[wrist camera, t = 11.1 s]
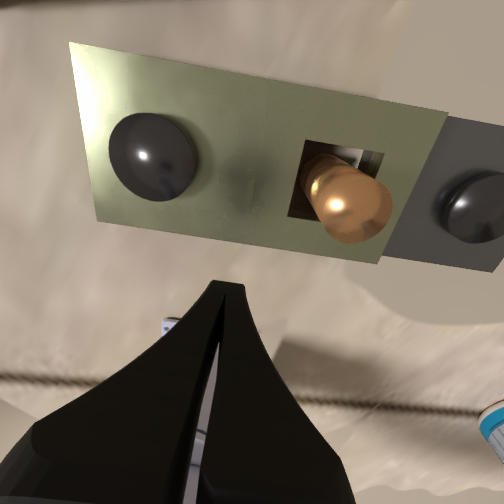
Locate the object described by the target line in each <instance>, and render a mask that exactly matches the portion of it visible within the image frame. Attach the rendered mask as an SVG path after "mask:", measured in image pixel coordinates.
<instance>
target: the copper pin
mask: <svg viewBox="0 0 504 504" xmlns="http://www.w3.org/2000/svg"><path fill="white" fill-rule="evenodd" d="M300 184H301V187H302V189H303V191H304V193H305V194H306V196H307V198H308V200H309V202H310V203H311V205H312V207H313V209H314V210H315V212H316V214H317V216H318V218H319V219H320V221H321V223H322V225H323V227H324V228H325V230H326V232H327V233H328V234H329V235H330V236H331V237H332V238H333V239H335V240H337V241H339V242H343V243H359V242H363V241H366V240H368V239H370V238H372V237H374V236H375V235H377V234H378V233H379V232H380V231H381V230H382V229H383V228H384V227H385V225H386V224H387V223H388V221H389V219H390V217H391V214H392V209H393V201H392V196H391V194H390V192H389V190H388V189H387V187H385V186H384V185H383V184H382V183H380V182H379V181H377V180H375V179H374V178H372V177H370V176H368V175H367V174H365V173H363V172H362V171H360V170H358V169H356V168H355V167H353V166H351V165H350V164H348V163H346V162H344V161H343V160H341V159H339V158H337V157H336V156H334V155H331V154H318V155H316V156H314V157H312V158H310V159H309V160H308V161H307V162H306V163H305V165H304V166H303V168H302V170H301V173H300Z"/></svg>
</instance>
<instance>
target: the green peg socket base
mask: <svg viewBox="0 0 504 504" xmlns="http://www.w3.org/2000/svg"><path fill="white" fill-rule="evenodd" d="M69 46H70V52H71V58H72V65H73V71H74V77H75V84H76V90H77V96H78V103H79V109H80V116H81V122H82V128H83V135H84V141H85V147H86V154H87V160H88V166H89V173H90V179H91V185H92V192H93V198H94V204H95V211H96V217H97V221H99V222H106V223H112V224H119V225H125V226H132V227H138V228H145V229H151V230H158V231H164V232H171V233H177V234H184V235H190V236H197V237H203V238H210V239H216V240H223V241H229V242H236V243H242V244H249V245H255V246H262V247H268V248H275V249H281V250H288V251H294V252H301V253H307V254H314V255H320V256H327V257H333V258H340V259H346V260H353V261H359V262H366V263H372V264H377V263H378V261H379V259H380V257H381V255H383V256H389V257H395V258H402V259H408V260H414V261H421V262H427V263H434V264H440V265H447V266H453V267H460V268H466V269H472V270H479V271H485V272H491V273H492V272H493V271H494V270H495V269H496V267H497V266H498V265H499V263H500V262H501V261H502V259H503V258H504V126H500V125H495V124H489V123H484V122H478V121H473V120H468V119H462V118H457V117H452V116H447V115H448V112H443V111H437V110H433V109H427V108H422V107H416V106H411V105H405V104H400V103H395V102H390V101H383V100H379V99H373V98H368V97H363V96H357V95H352V94H346V93H341V92H336V91H330V90H325V89H320V88H314V87H309V86H303V85H298V84H293V83H287V82H282V81H276V80H271V79H266V78H260V77H255V76H250V75H244V74H239V73H233V72H228V71H223V70H217V69H212V68H206V67H201V66H196V65H190V64H185V63H180V62H174V61H169V60H163V59H158V58H153V57H147V56H142V55H136V54H131V53H126V52H120V51H115V50H110V49H104V48H99V47H93V46H88V45H83V44H77V43H72V42H69ZM305 139H306V140H312V141H318V142H323V143H329V144H335V145H340V146H346V147H352V148H357V149H363V150H364V151H363V154H362V157H361V160H360V163H359V166H358V168H357V169H358V170H360V171H362V172H363V173H365V174H367V175H368V176H370V177H372V178H374V179H375V180H377V181H379V182H380V183H382V184H383V185H384V186H385V187H387V189H388V190H389V192H390V194H391V196H392V201H393V209H392V214H391V217H390V219H389V221H388V223H387V224H386V225H385V227H384V228H383V229H382V230H381V231H380V232H379V233H378V234H377V235H375V236H374V237H372V238H370V239H368V240H366V241H363V242H359V243H343V242H339V241H337V240H335V239H333V238H332V237H331V236H330V235H329V234H328V233H327V232H326V230H325V228H324V227H323V225H322V223H321V221H320V219H319V218H318V216H317V214H316V212H315V210H314V209H313V207H312V206H306V205H300V204H294V203H290V201H291V197H292V193H293V189H294V185H295V180H296V176H297V172H298V168H299V164H300V159H301V155H302V151H303V147H304V143H305Z"/></svg>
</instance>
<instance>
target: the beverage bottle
mask: <svg viewBox="0 0 504 504" xmlns="http://www.w3.org/2000/svg"><path fill="white" fill-rule="evenodd" d="M478 428H479V430H480V431H481V433H482V434H483V436H484V437H485V439H486V440H487V441H488V442H489V443H490V445H491V446H492V448H493V449H494V450H495V452H496V453H497V455H498V456H499V458H500V459H501V461H502V462H503V464H504V401H501V402H498V403H496V404H494V405H492V406H490V407H489V408H487V409H486V410H485V411H484V412H483V413H482V414H481V415H480V417H479V419H478Z"/></svg>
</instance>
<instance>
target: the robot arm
mask: <svg viewBox="0 0 504 504" xmlns="http://www.w3.org/2000/svg"><path fill="white" fill-rule="evenodd" d="M161 325H162V337H161V338H160V339H159V340H158V341H157V342H156V343H154V344H153V345H152V346H151V347H150V348H148V349H147V350H146V351H145V352H143V353H142V354H141V355H140V356H138V357H137V358H136V359H134V360H133V361H132V362H130V363H129V364H128V365H126V366H125V367H124V368H122V369H121V370H119V371H118V372H116V373H115V374H113V375H112V376H110V377H109V378H107V379H106V380H104V381H103V382H101V383H100V384H99V385H97V386H96V387H94V388H93V389H91V390H89V391H88V392H86V393H85V394H83V395H81V396H80V397H78V398H76V399H75V400H73V401H71V402H70V403H68V404H66V405H64V406H63V407H61V408H59V409H58V410H56V411H54V412H53V413H51V414H49V415H47V416H46V417H44V418H42V419H41V420H39V421H37V422H35V423H34V424H33V425H32V426H31V427H30V429H29V430H28V431H27V432H26V433H25V434H24V436H23V437H22V438H21V439H20V440H19V441H18V442H17V443H16V444H15V446H14V447H13V448H12V449H11V451H10V452H9V453H8V454H7V455H6V457H5V458H4V459H3V461H2V462H1V463H0V504H356V502H355V499H354V495H353V492H352V489H351V486H350V483H349V480H348V477H347V474H346V472H345V469H344V466H343V464H342V461H341V459H340V457H339V456H338V455H337V454H336V452H335V451H334V450H333V449H332V448H331V446H330V445H329V444H328V443H327V442H326V440H325V439H324V438H323V436H322V435H321V434H320V433H319V431H318V430H317V429H316V427H315V426H314V425H313V424H312V422H311V421H310V419H309V418H308V417H307V415H306V414H305V413H304V411H303V410H302V408H301V407H300V406H299V404H298V403H297V401H296V400H295V398H294V397H293V395H292V394H291V392H290V391H289V389H288V388H287V386H286V384H285V383H284V381H283V380H282V378H281V377H280V375H279V373H278V371H277V370H276V368H275V366H274V365H273V363H272V361H271V359H270V357H269V355H268V353H267V351H266V349H265V347H264V345H263V343H262V341H261V338H260V336H259V334H258V331H257V329H256V326H255V324H254V321H253V318H252V315H251V312H250V309H249V305H248V302H247V298H246V292H245V286H244V285H243V284H238V283H231V282H224V281H218V280H213V281H211V282H210V283H209V285H208V287H207V288H206V290H205V291H204V292H203V294H202V295H201V296H200V298H199V299H198V300H197V301H196V302H195V304H194V305H193V306H192V307H191V308H190V309H189V311H188V312H187V313H186V314H185V315H184V316H183V317H182V318H181V319H180V320H174V319H164V320H163V321H162V324H161ZM167 327H168V328H167Z"/></svg>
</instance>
